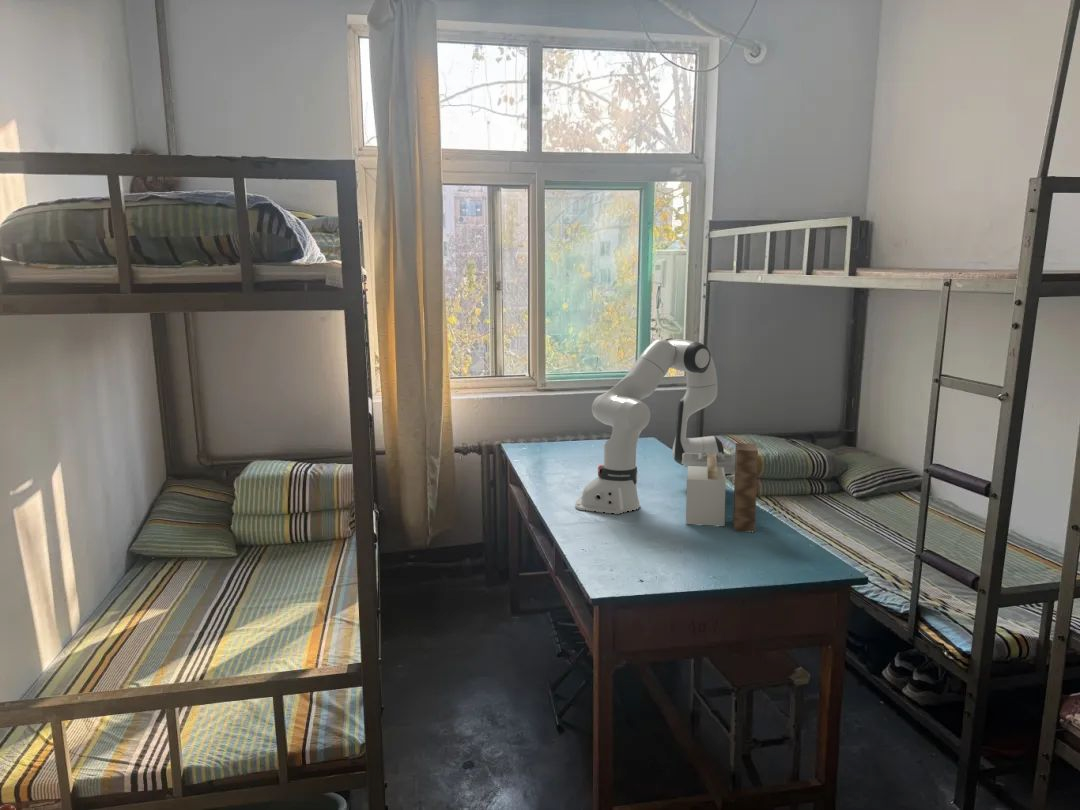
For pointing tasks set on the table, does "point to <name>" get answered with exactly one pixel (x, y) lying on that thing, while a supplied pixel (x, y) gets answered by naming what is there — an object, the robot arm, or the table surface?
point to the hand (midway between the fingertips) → (711, 454)
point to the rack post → (745, 487)
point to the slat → (712, 466)
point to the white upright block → (705, 497)
